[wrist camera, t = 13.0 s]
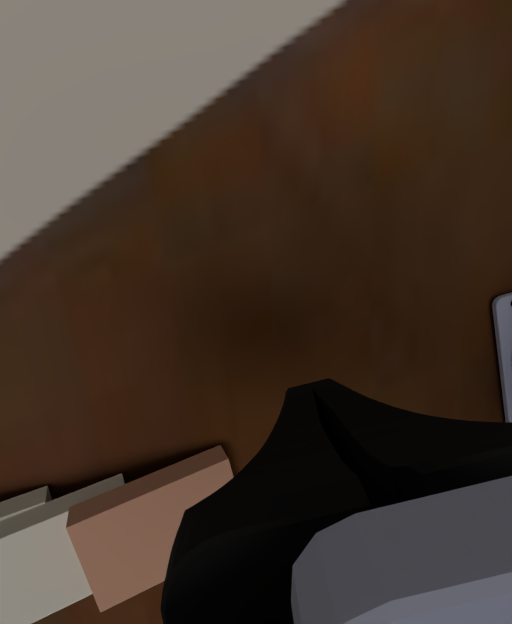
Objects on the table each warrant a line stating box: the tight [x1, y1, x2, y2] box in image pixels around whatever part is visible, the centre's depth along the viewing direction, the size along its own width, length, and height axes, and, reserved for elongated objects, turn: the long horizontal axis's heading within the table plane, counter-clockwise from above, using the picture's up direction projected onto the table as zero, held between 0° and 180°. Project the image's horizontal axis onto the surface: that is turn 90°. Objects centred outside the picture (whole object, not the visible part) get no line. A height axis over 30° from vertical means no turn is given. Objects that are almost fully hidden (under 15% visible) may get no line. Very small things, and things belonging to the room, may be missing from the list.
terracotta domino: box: [66, 445, 234, 612], centre depth 21 cm, size 2×5×8 cm
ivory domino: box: [0, 473, 125, 624], centre depth 21 cm, size 2×5×8 cm
